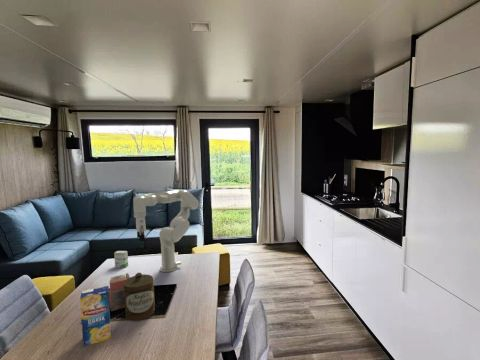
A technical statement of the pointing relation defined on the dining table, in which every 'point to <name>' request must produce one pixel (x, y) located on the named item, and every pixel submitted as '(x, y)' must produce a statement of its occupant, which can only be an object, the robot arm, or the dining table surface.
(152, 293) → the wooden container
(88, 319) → the beverage box
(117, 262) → the ink box
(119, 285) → the salmon red block
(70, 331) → the dining table surface
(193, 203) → the robot arm
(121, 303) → the shelf
